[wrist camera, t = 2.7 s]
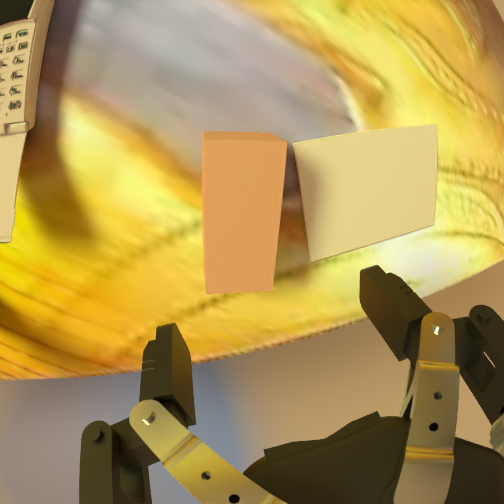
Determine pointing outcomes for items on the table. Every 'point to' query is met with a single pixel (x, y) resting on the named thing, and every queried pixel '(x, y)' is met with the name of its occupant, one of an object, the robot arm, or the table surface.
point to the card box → (241, 209)
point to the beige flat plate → (366, 186)
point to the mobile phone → (18, 92)
